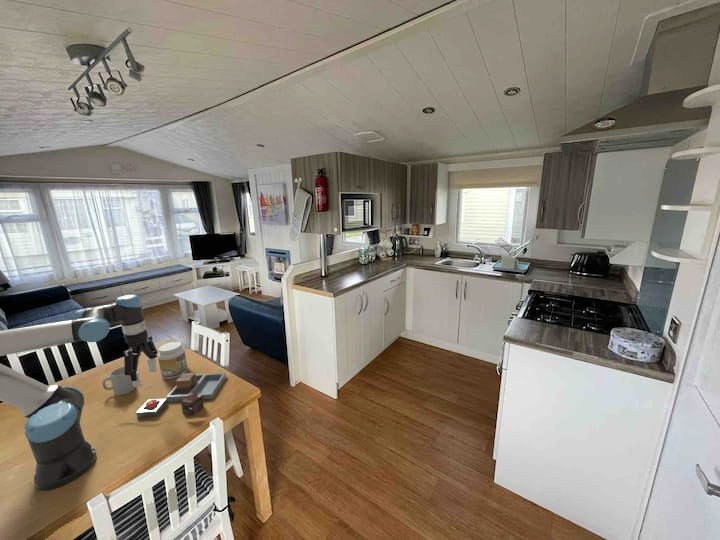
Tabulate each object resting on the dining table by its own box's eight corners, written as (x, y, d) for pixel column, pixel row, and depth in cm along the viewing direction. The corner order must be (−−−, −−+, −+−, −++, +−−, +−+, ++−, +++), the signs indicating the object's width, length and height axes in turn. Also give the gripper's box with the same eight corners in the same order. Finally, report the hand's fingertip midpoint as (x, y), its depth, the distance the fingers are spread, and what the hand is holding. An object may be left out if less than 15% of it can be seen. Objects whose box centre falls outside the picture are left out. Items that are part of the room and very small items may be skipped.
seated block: (191, 392, 135) (188, 380, 134) (178, 393, 135) (175, 381, 133) (197, 384, 141) (195, 372, 139) (184, 385, 141) (182, 373, 139)
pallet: (212, 401, 131) (211, 394, 130) (166, 403, 130) (165, 397, 129) (226, 378, 148) (225, 372, 147) (186, 381, 146) (184, 375, 145)
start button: (154, 413, 122) (153, 405, 121) (145, 413, 122) (143, 406, 121) (160, 406, 126) (158, 399, 125) (151, 407, 126) (149, 399, 125)
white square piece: (157, 418, 120) (155, 411, 120) (137, 420, 120) (136, 412, 119) (168, 405, 128) (166, 398, 127) (150, 407, 128) (148, 399, 127)
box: (182, 415, 123) (180, 401, 121) (194, 406, 128) (191, 392, 126) (193, 418, 121) (190, 404, 119) (204, 408, 126) (202, 394, 125)
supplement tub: (185, 377, 149) (180, 349, 145) (159, 382, 145) (153, 354, 141) (190, 365, 160) (185, 339, 156) (165, 370, 156) (159, 343, 152)
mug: (137, 382, 145) (133, 364, 143) (135, 391, 138) (130, 372, 136) (107, 391, 139) (102, 371, 136) (103, 400, 132) (98, 381, 129)
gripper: (124, 344, 104) (137, 395, 109) (161, 320, 126) (169, 363, 131) (103, 345, 104) (117, 396, 109) (144, 320, 125) (153, 364, 130)
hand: (145, 378), depth 120 cm, fingers open, 9 cm apart
